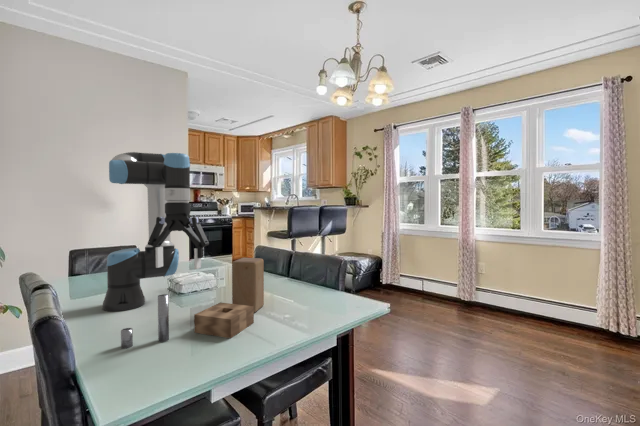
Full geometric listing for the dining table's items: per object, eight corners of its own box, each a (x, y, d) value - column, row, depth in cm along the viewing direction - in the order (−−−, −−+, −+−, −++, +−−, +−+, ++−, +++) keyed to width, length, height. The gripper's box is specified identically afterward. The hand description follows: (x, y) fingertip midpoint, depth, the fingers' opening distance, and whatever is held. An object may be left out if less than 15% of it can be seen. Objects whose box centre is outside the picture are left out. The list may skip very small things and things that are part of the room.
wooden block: (255, 313, 127) (255, 262, 126) (231, 312, 129) (230, 261, 128) (264, 305, 137) (264, 258, 136) (242, 304, 139) (242, 257, 138)
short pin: (118, 347, 97) (118, 331, 97) (127, 343, 100) (127, 327, 100) (126, 349, 96) (126, 332, 96) (135, 345, 99) (134, 328, 99)
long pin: (156, 341, 101) (155, 296, 101) (163, 337, 104) (163, 293, 104) (163, 342, 100) (163, 297, 100) (171, 338, 103) (170, 294, 103)
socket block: (194, 332, 108) (194, 314, 108) (220, 318, 122) (220, 302, 121) (231, 338, 104) (230, 319, 104) (253, 323, 117) (253, 306, 117)
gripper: (134, 202, 104) (135, 268, 105) (207, 201, 100) (208, 271, 100) (150, 202, 112) (151, 264, 112) (219, 201, 107) (219, 266, 108)
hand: (178, 267), depth 106 cm, fingers open, 13 cm apart
